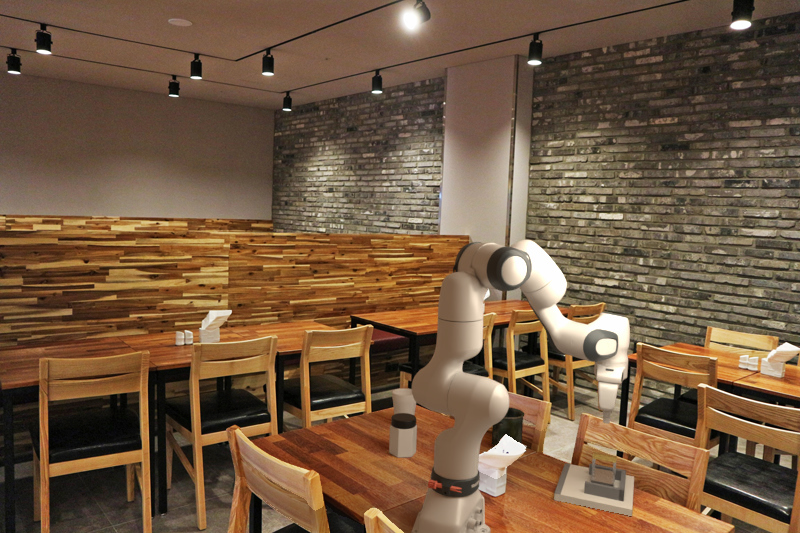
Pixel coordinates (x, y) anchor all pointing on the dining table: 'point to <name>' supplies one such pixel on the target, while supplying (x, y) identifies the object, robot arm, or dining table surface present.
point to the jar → (403, 435)
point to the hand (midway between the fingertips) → (607, 417)
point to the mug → (509, 426)
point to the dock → (595, 489)
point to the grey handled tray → (600, 474)
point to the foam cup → (403, 401)
